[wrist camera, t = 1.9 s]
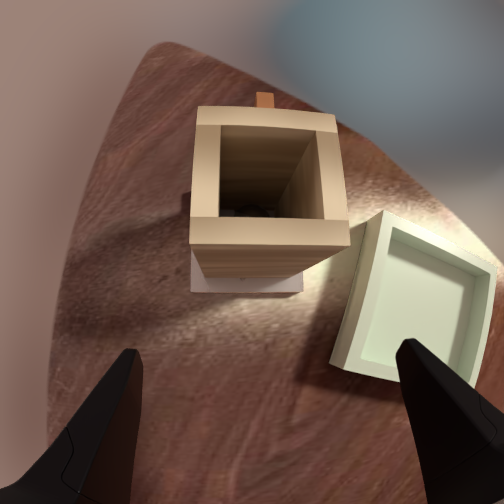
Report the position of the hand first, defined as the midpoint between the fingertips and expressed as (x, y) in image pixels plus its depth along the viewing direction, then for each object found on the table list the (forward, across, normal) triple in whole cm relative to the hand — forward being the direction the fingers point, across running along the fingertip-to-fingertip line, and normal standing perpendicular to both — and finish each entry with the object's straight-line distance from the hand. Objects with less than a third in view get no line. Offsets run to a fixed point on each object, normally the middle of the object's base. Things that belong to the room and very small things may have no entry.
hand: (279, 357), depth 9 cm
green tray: (+10, -15, +9) cm, 20 cm away
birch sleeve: (+13, 0, +4) cm, 14 cm away
